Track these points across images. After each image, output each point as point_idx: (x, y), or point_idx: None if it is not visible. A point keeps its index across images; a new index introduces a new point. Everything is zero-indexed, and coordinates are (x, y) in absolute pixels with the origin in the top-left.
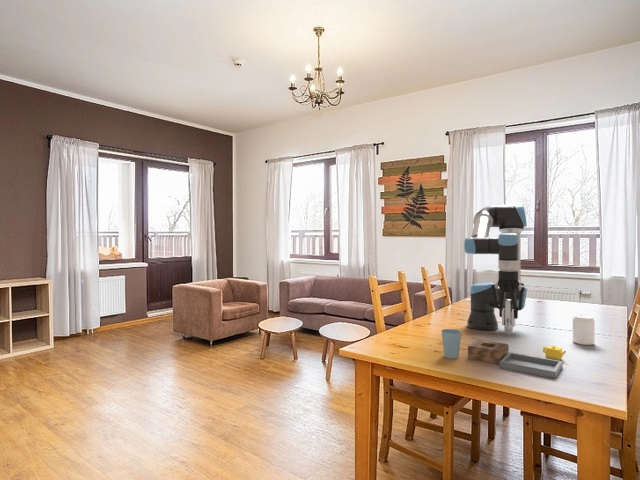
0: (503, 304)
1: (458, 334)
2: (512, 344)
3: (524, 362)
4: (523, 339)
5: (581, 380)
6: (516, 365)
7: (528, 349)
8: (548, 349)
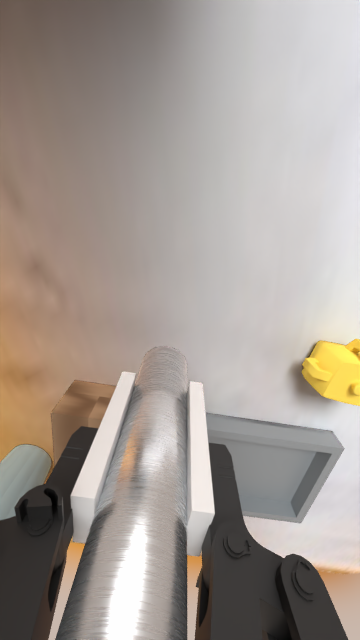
0: (44, 622)
1: None
2: (175, 208)
3: (228, 443)
4: (229, 20)
5: (351, 492)
6: None
7: (248, 268)
8: (327, 396)
